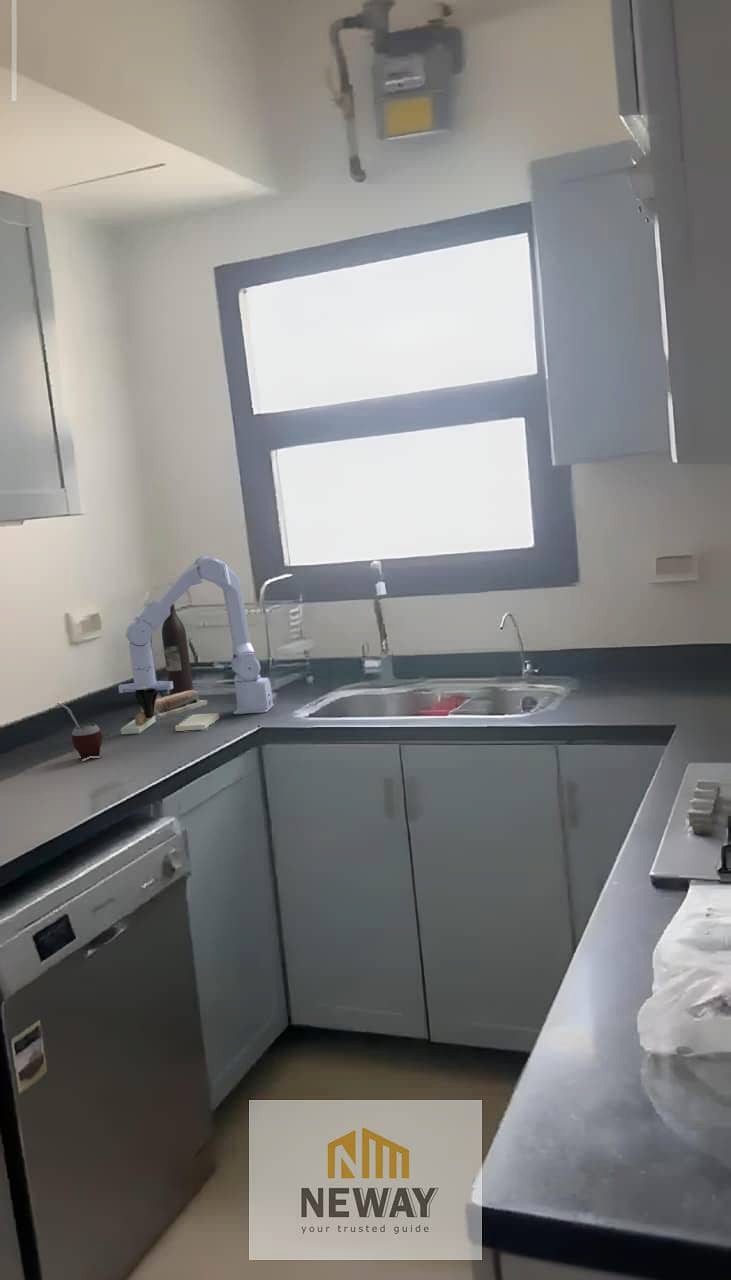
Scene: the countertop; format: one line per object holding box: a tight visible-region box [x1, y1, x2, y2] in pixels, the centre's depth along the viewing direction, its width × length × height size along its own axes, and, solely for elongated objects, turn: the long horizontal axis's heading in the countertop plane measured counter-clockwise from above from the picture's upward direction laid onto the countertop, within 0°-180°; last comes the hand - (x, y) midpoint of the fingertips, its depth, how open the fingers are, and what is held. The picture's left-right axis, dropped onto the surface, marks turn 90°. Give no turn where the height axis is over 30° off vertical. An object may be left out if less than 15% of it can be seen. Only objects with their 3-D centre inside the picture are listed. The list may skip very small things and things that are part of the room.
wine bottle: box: [161, 603, 194, 695], centre depth 317 cm, size 7×7×30 cm
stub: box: [120, 710, 157, 735], centre depth 284 cm, size 5×12×4 cm, turn 170°
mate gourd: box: [56, 702, 103, 760], centre depth 257 cm, size 8×8×15 cm
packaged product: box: [139, 689, 208, 720], centre depth 302 cm, size 18×5×10 cm
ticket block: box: [174, 712, 220, 732], centre depth 281 cm, size 8×12×2 cm, turn 170°
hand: (150, 717), depth 283 cm, fingers closed
